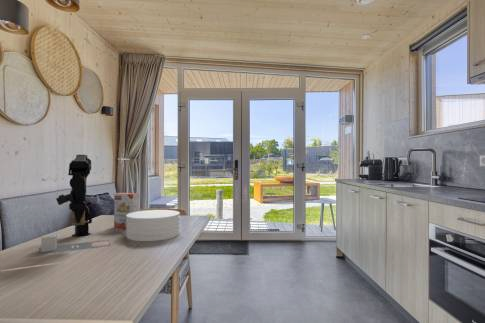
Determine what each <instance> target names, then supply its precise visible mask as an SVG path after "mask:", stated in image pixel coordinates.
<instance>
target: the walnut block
mask: <svg viewBox="0 0 485 323" xmlns="http://www.w3.org/2000/svg"><path fill="white" fill-rule="evenodd" d="M70 223H71V226H75V225H84V224H85V211H84V214H83V216H82V218H81V220H80V223H77V222H76V218H75V214H74V212H73V211H72V210H71V222H70Z"/></svg>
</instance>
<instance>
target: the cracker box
mask: <svg viewBox="0 0 485 323" xmlns="http://www.w3.org/2000/svg"><path fill="white" fill-rule="evenodd" d="M113 208H114V209H113V213H114V214H113V216H114V217H113V227H114V228H120V229H127V228H126V224H127V223H126V220H127V218H126V215H127V214H129V213H133V212H138V211H140V193H135V192H134V193H132V192H131V193H130V192H115V193H114V203H113Z"/></svg>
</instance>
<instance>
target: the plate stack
mask: <svg viewBox="0 0 485 323" xmlns="http://www.w3.org/2000/svg"><path fill="white" fill-rule="evenodd" d="M180 215H181V213H180V211H178V210H173V209H149V210H148V209H147V210H139V211H138V212H133V213H129V214H127V215H126V218H127V220H126V223H127V224H126V228H125V238H126V239H128V240H130V241H136V242H152V241H153V242H155V241H162V240H163V241H164V240H168V239H172V238H175V237H178V236H179V235H180V234H179V233H181V232H180V229H181V227H180V224H181V222H180V220H181V218H180Z"/></svg>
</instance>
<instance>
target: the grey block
mask: <svg viewBox="0 0 485 323" xmlns="http://www.w3.org/2000/svg"><path fill="white" fill-rule="evenodd" d="M40 241H41V244H40V246H41V252H47V251H55V250H56V248H57V246H58V244H57V243H58V242H57V241H58V235H57V234H55V233H54V234H43V235H42V237H41V240H40Z"/></svg>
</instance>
